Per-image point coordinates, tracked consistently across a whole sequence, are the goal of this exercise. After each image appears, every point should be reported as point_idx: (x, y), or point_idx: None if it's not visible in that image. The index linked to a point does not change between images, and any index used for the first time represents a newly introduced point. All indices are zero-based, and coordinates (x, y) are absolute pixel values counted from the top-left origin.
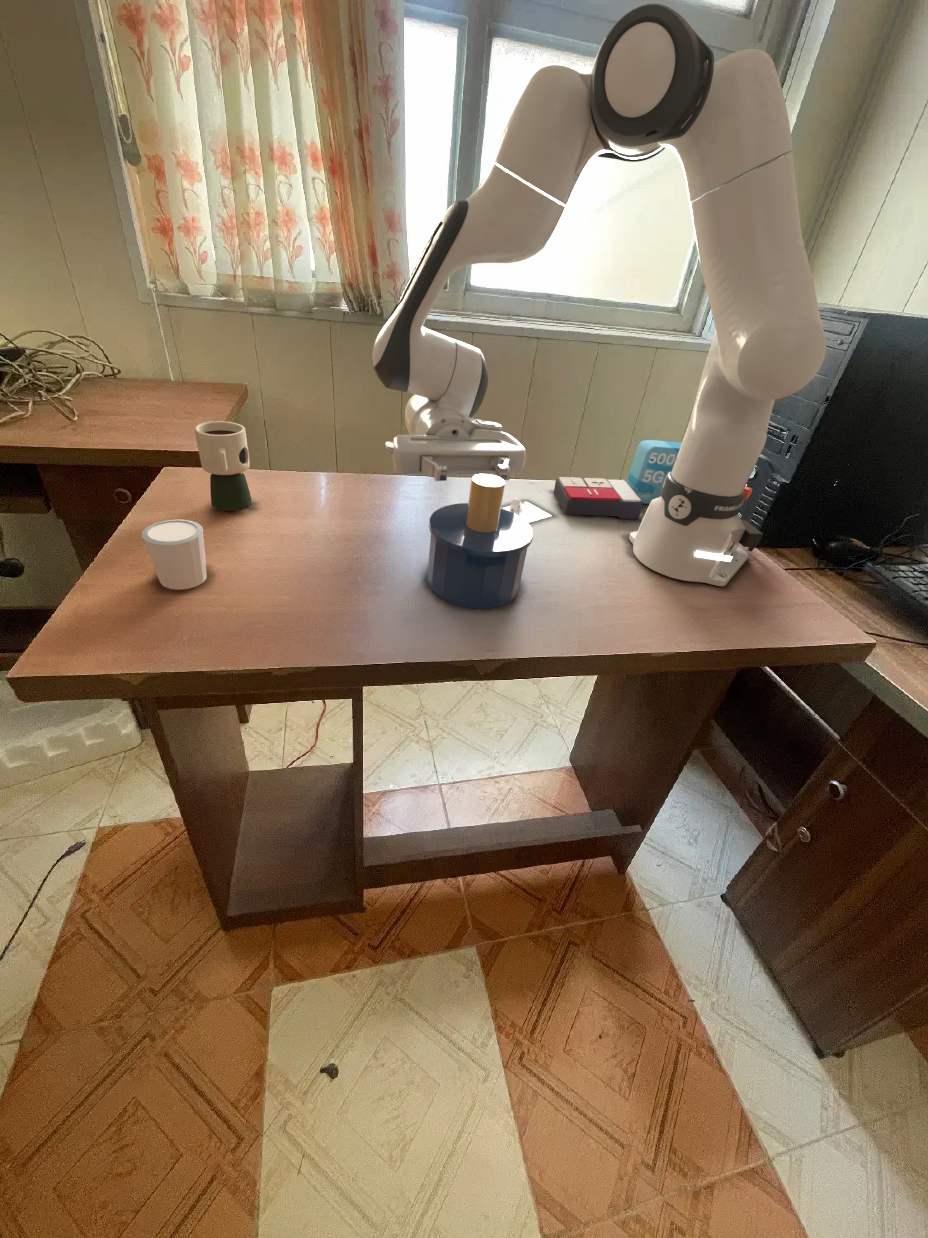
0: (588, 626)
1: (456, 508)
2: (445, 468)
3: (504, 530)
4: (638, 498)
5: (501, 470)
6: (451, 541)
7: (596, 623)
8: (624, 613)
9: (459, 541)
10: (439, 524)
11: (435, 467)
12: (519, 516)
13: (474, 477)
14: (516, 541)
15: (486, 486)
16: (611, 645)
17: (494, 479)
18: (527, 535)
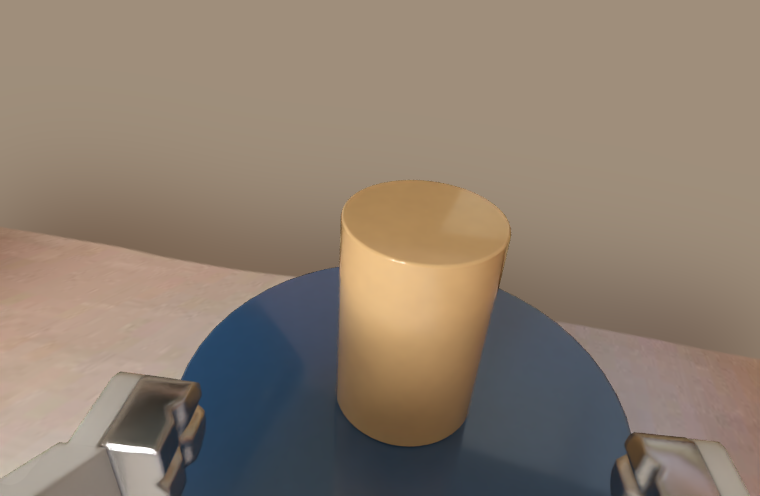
0: (197, 315)
1: None
2: (653, 440)
3: (328, 343)
4: None
5: (197, 382)
6: (551, 324)
7: (170, 317)
8: (69, 324)
9: (523, 320)
10: (588, 427)
11: (740, 482)
12: None
13: (492, 241)
14: (327, 289)
15: (459, 187)
16: (204, 273)
17: (389, 217)
18: (263, 307)
